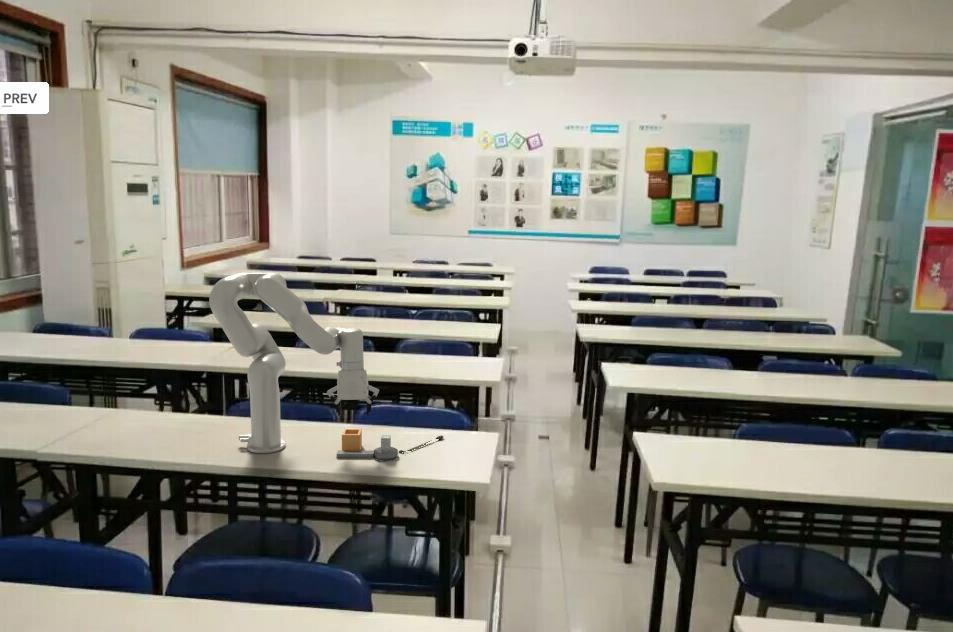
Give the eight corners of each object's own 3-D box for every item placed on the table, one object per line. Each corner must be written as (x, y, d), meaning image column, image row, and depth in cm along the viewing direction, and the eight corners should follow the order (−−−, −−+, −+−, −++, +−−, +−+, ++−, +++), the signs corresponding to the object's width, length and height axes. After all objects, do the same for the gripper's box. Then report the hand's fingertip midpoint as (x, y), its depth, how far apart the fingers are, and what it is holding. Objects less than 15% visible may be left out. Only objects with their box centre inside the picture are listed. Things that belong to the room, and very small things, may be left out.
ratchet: (335, 460, 217) (335, 440, 216) (338, 451, 225) (338, 432, 224) (397, 461, 219) (397, 440, 217) (398, 452, 226) (398, 432, 225)
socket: (341, 451, 225) (341, 434, 224) (344, 445, 231) (344, 428, 230) (359, 451, 226) (359, 434, 225) (361, 445, 232) (361, 428, 231)
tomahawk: (411, 460, 222) (411, 457, 222) (397, 453, 226) (397, 450, 226) (453, 443, 238) (453, 440, 238) (440, 437, 242) (440, 434, 242)
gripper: (324, 368, 219) (326, 418, 222) (377, 367, 220) (378, 417, 223) (327, 362, 227) (329, 411, 229) (379, 362, 228) (380, 410, 231)
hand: (353, 414), depth 226 cm, fingers open, 9 cm apart
